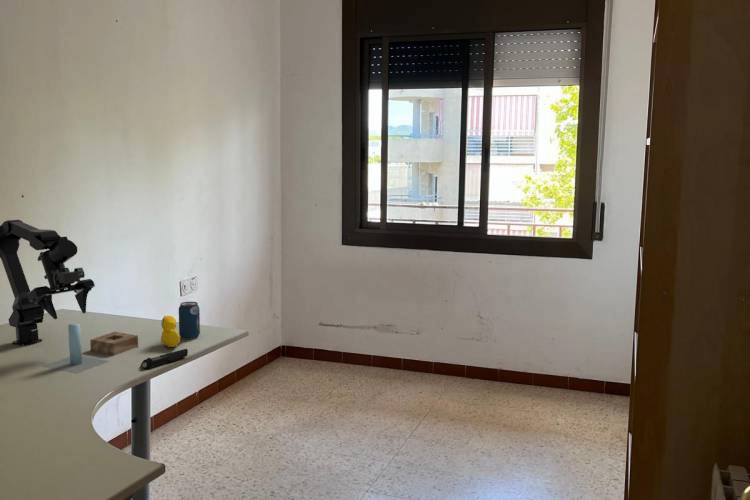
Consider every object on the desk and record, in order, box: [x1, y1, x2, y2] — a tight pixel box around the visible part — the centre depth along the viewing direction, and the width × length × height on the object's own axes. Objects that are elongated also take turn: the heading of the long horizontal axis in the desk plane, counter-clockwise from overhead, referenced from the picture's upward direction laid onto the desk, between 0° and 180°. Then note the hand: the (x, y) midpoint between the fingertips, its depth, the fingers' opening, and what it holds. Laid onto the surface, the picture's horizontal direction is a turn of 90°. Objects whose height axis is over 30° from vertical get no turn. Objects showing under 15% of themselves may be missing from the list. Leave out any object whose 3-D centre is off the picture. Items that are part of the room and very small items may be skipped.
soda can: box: [178, 301, 201, 340], centre depth 218 cm, size 7×7×12 cm
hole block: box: [89, 331, 139, 356], centre depth 203 cm, size 10×10×4 cm
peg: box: [67, 322, 83, 365], centre depth 187 cm, size 3×3×12 cm
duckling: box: [160, 315, 181, 348], centre depth 208 cm, size 11×5×10 cm, turn 33°
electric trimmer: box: [140, 348, 189, 371], centre depth 192 cm, size 4×16×3 cm, turn 143°
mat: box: [42, 355, 110, 374], centre depth 188 cm, size 14×12×1 cm
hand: (70, 315), depth 193 cm, fingers open, 9 cm apart
